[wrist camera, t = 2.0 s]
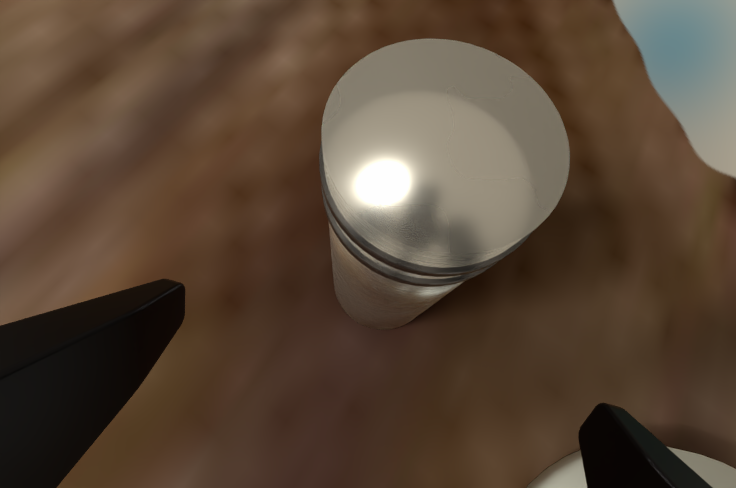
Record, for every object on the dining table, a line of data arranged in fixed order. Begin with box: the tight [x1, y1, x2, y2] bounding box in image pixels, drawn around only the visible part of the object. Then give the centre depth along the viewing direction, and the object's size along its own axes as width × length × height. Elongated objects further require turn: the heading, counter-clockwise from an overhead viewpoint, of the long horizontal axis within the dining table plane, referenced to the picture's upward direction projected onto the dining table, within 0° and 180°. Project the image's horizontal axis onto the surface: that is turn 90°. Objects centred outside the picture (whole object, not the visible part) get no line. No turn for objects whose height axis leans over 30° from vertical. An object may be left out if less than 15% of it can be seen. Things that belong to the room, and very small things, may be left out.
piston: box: [319, 39, 570, 330], centre depth 14 cm, size 5×5×13 cm
